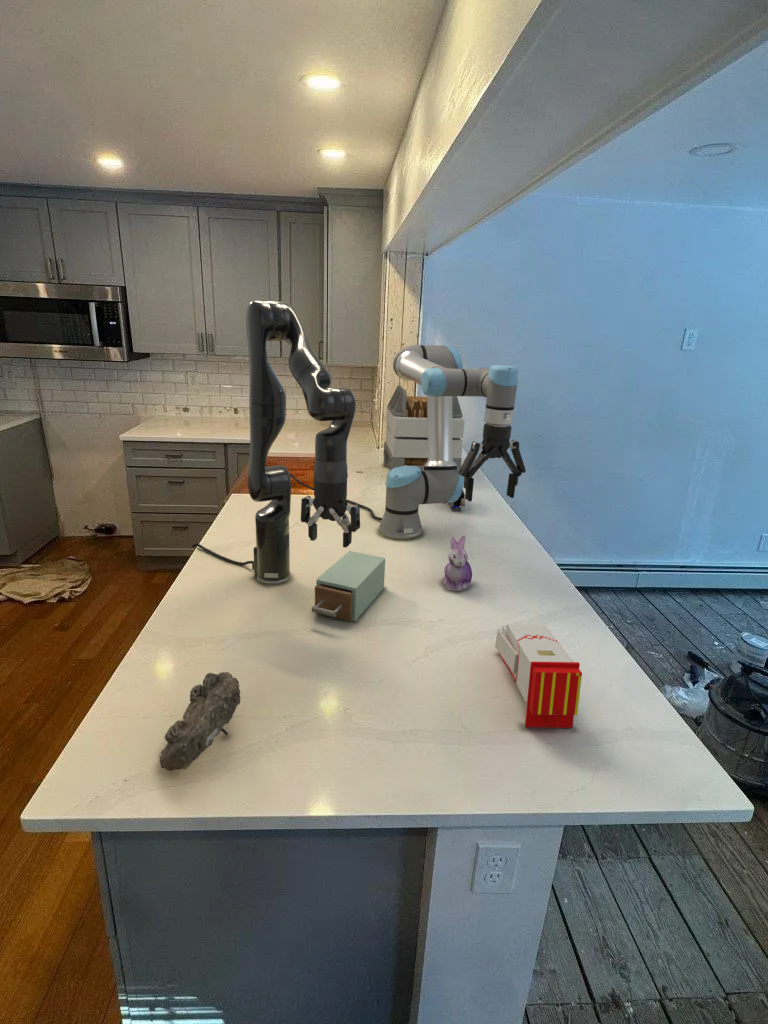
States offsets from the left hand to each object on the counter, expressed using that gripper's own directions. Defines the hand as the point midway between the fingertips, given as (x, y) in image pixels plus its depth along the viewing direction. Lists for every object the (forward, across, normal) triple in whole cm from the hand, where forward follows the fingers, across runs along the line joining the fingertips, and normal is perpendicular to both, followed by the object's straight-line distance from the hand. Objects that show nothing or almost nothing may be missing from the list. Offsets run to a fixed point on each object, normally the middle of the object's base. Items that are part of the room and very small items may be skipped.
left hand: (329, 543), depth 134 cm
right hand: (-3, +29, +43) cm, 52 cm away
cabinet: (+22, 0, +14) cm, 26 cm away
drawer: (+21, 0, +9) cm, 23 cm away
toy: (+22, +50, -3) cm, 54 cm away
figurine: (+22, +24, +35) cm, 48 cm away
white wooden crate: (+22, -23, +143) cm, 147 cm away
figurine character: (+22, +5, +103) cm, 105 cm away
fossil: (+22, -3, -43) cm, 49 cm away
